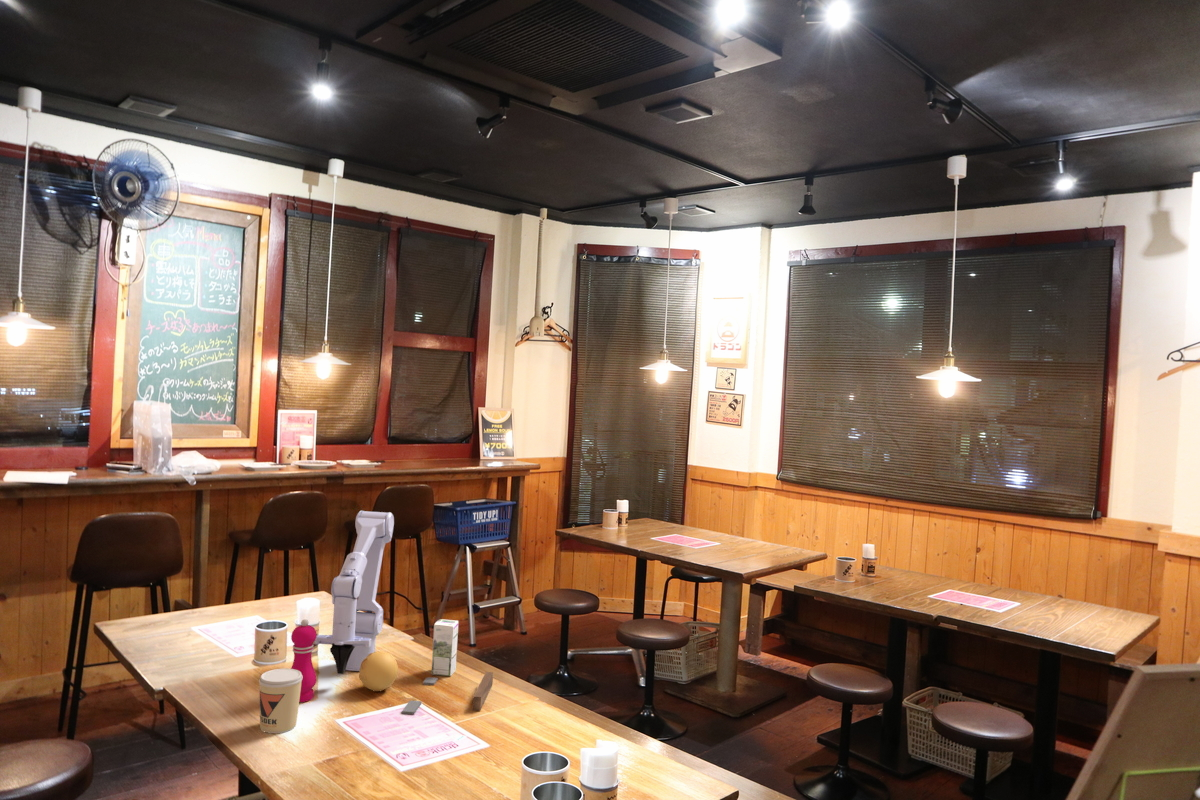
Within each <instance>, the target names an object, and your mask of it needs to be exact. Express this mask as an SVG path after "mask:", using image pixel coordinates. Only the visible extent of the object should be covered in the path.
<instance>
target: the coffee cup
mask: <svg viewBox="0 0 1200 800" xmlns="http://www.w3.org/2000/svg"><path fill="white" fill-rule="evenodd" d="M302 678H303V676H302V674H301V672H300V671H298V670H295V669H291V668H276V669H271V670H267V671H265V672H263V673H262V674H261V675H260V677H259V679H258V682H259V683H258V684H259V726H260V727H259V728H260V730H261V732H263V731H265V732H268V733H267V734H271V733H276V734H284V733H287V732H290V731H292V730H293V729H295V728H296V725H297V721H298V713H299V706H300V705H299V704H300V703H299V699H300V691H301V682H302ZM294 727H295V728H294ZM265 732H264V733H265ZM283 732H284V733H283Z"/></svg>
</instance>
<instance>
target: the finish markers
mask: <svg viewBox="0 0 1200 800" xmlns="http://www.w3.org/2000/svg"><path fill="white" fill-rule="evenodd" d="M437 682H438V677H434V676H433V677H431V676H429V677H428V676H427V677H425V679H424V680H423V682H422V684H423V685H424V686H425V685H426V686H435V684H436V683H437ZM421 705H422V701H421V700H408V703H407V704H406V705H405V706H404V708H403V709H402V711H401V714H403V715H415V714H416V712H417V710H419V708H420V706H421Z"/></svg>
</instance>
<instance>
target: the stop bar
mask: <svg viewBox="0 0 1200 800" xmlns="http://www.w3.org/2000/svg"><path fill="white" fill-rule="evenodd" d="M493 683H494V672H491V671H486V672H485V673H484V675H483V677H482V678H481V680H480V682H479V685H478V686H477V688H476V691H475V692H474V694H473V697H472V708H471V709H472V711H473V712H474V711H475V712H477V711H478V712H481V710H482V708H483V706H484V704H485V702H486V699H487V697H488V695H489V693H490V691H491V690H492V687H493Z"/></svg>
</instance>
